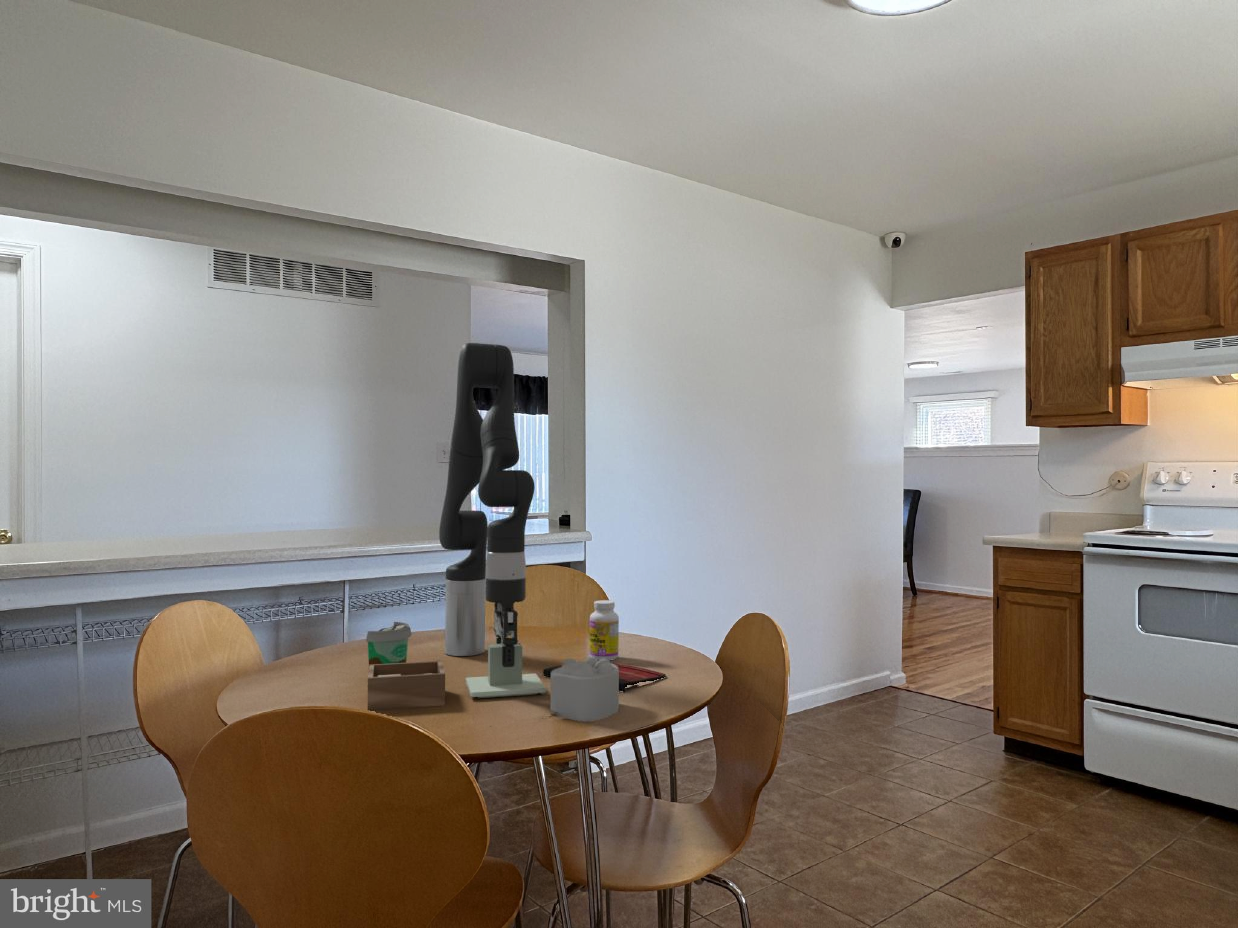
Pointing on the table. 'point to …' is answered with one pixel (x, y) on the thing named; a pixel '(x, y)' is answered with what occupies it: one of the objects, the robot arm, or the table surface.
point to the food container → (388, 644)
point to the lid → (504, 677)
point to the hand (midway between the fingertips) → (505, 661)
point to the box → (406, 685)
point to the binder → (625, 675)
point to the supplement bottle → (604, 631)
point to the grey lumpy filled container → (585, 689)
